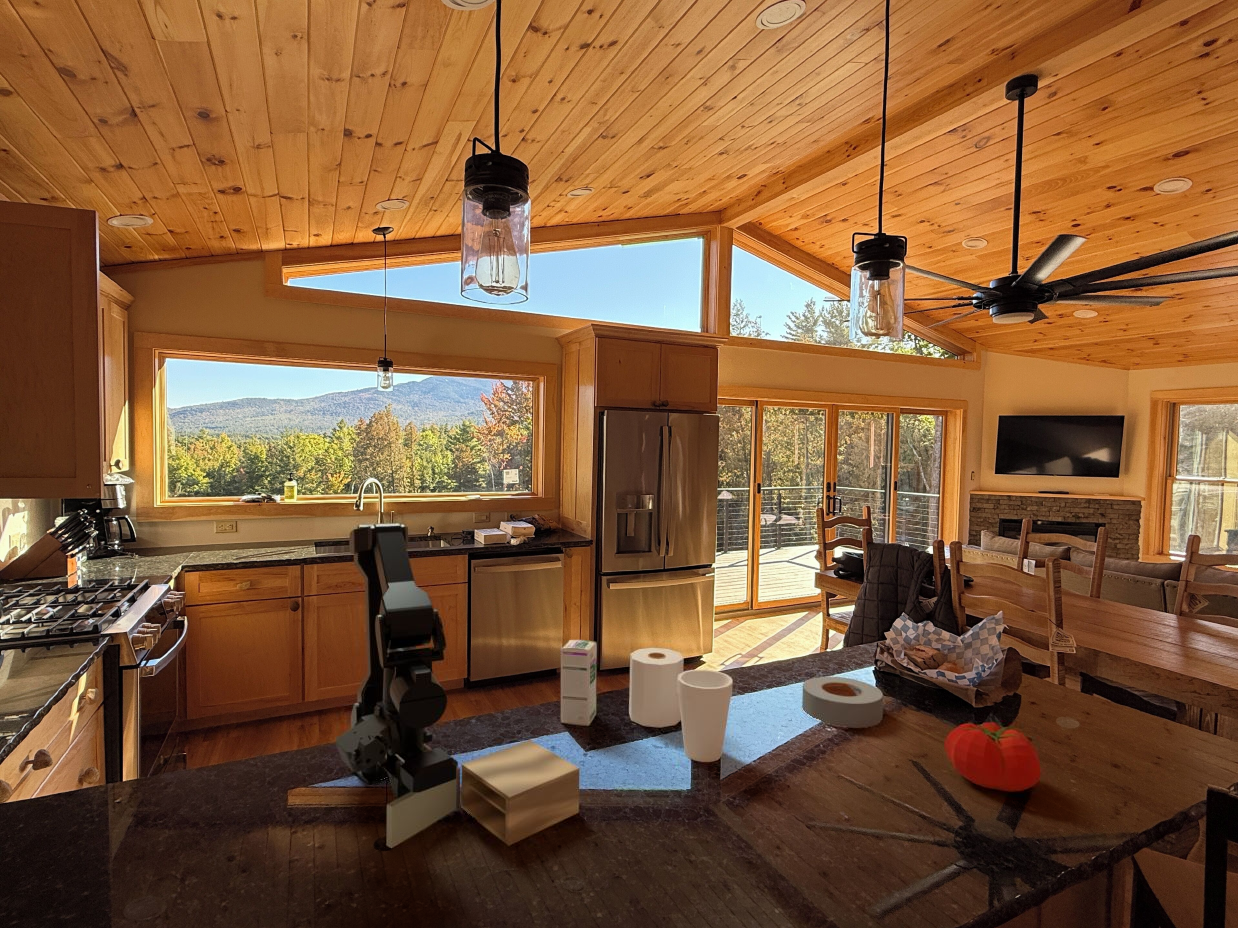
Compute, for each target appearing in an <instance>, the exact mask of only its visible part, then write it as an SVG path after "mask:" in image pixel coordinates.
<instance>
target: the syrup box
mask: <svg viewBox="0 0 1238 928" xmlns="http://www.w3.org/2000/svg"><path fill="white" fill-rule="evenodd" d="M597 645H598V644H597V642H596V641H594V640H593V641H592V640H586V639H569V640H568V642H566V643H565V644H564V645H563V647H561V648H560V723H561V724H566V725H567V724H568V725H575V726H576V725H577V726H585V727H586V726H590V725H591V723H592V722H593V720H594V718H595V716H596V715H597V681H598V680H597V671H598V670H597V655H598V654H597V649H598V648H597Z"/></svg>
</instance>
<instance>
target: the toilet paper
mask: <svg viewBox="0 0 1238 928" xmlns="http://www.w3.org/2000/svg"><path fill="white" fill-rule="evenodd" d="M629 657H630V660H629V661H630V662H629V663H630V664H629V695H628V696H629V701H628V702H629V704H628V714H629V718H630V720H631V721H632V722H634V723H636V724H638V725H641V726H643V727H652V728H660V729H661V728H664V727H670V726H675V725H677V724H678V723H679V722H681V713H680V703H679V694H678V693H677V682H678V675H679V674H681V673H682V672H684V656H683V655H682V654H681V652H679V651H675V650H673V649H670V648H662V647H661V648H659V647H647V648H640V649H636V650H635V651H633V652H631V653H630V656H629Z"/></svg>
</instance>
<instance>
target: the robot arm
mask: <svg viewBox="0 0 1238 928" xmlns="http://www.w3.org/2000/svg"><path fill="white" fill-rule="evenodd" d="M348 540H349V542H348V543H349V553H350V554H351V555H353V565H354V566H355V567H356V569H357V570H358V572H359V573H360V575H361V577H362V578H363V579H364V591H365V592H364V594H365V596H364V599H365V632H366V633H365V634H366V665H367V667H366V669H367V672H366V673H365V676H364V677H363V679H362V682H361V683H360V685H359V687H358V688H357V691H356V694H357V696H356V698H357V699H356V702H354V703H353V706H352V711H351V715H350V729H348V730H346V731H345V732H344V733H341V734H340V735H338V736H337V738H336V739H335V745H336V747H337V750H338V752H339V754H340V757H341V760H342V762H343V763H344V764H345V765H347V767H348V768H349V769H350V770H351V771H352V772H353V773H356V775H358V777H360V778H361V779H362V780H363V781H366V782H365V783H366V784H368V783H372V784H374V783H373V782H375V781H378V782H380V781H379V780H381V779H384V778H386V777H389V778H388V779H389V782H390V786H391V789H392V793H393V797H394V800H396V799H398V798H400V797H402V796H404V795H405V794H407V793H409V792H411V791H412V792H415V793H420V792H422V791H425V790H428V789H431V788H433V787H436V786H439V785H441V784H444V783H447V782H449V781H452V780H455V779H456V778H457V776H458V767H459V762H458V760H456V759H455V758H453V757H452V756H451V755H450V754H448V753H447V752H446V751H445V750H444V749H442V748H441V747H440V746H439V747H435V748H431V747H430V746H429V745H428V744H427V743H431V742H433V732H431V731H429V730H428V729H427V728H428V727H431V726H432V725H434V724H435V723H437V722H438V721H439V720H440V719H441V718H442V717H443V715H444V713H445V711H446V710H447V705H448V698H447V694H446V691H445V689H444V688H443V686H442V685H441V683H440V682H439V680H438V679H437V677H436V676H435V674H434V672H433V663H435V662H440V661H445V652H444V651H446V648H447V642H446V635H445V632H444V626H443V622H442V617H441V616H440V615H439V611H438V610H437V609H436V608H434V606H433V603H432V601H431V598H430V595H429V594H428V592H426V591H425V590H423V589H421V588H419V587H418V586H417V583H416V581H415V576H414V573H413V568H412V565H411V560H410V558H409V553H408V550H409V528H408V526H405V524H403V523H399V522H386V523H385V522H383V523H382V522H381V523H372V524H370V523H369V524H357V527H356V528H354V529H352V530H351V531H350V532H349V539H348ZM431 642H432V643H433V644H432V645H433V646H431V647H421V646H428V645H430V644H431ZM418 647H421V648H418ZM384 780H385V779H384ZM381 781H382V780H381ZM375 783H376V782H375Z"/></svg>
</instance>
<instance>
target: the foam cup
mask: <svg viewBox="0 0 1238 928" xmlns="http://www.w3.org/2000/svg"><path fill="white" fill-rule="evenodd" d="M677 693H678V694H679V703H680V713H681V720H680V722H681V732H682V739H683V740H682V742H683V750H684V755H685V756H686V757H687V758H689V759H691V760H693V761H697V762H701V763H711V762H715V761H718V760H719V759H721V758H720V757H722V753H723V750H724V749H723V747H724V742H725V736H726V729H727V724H728V717H729V710H730V705H731V704H730V703H731V698H732V697H733V678H732V677H731V676H729V675H728V674H726V673H724V672H721V671H717V670H710V669H690V670H689V669H688V670H685V671H684V670H683V672H682V673H681V674H679V675H678V682H677Z"/></svg>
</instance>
